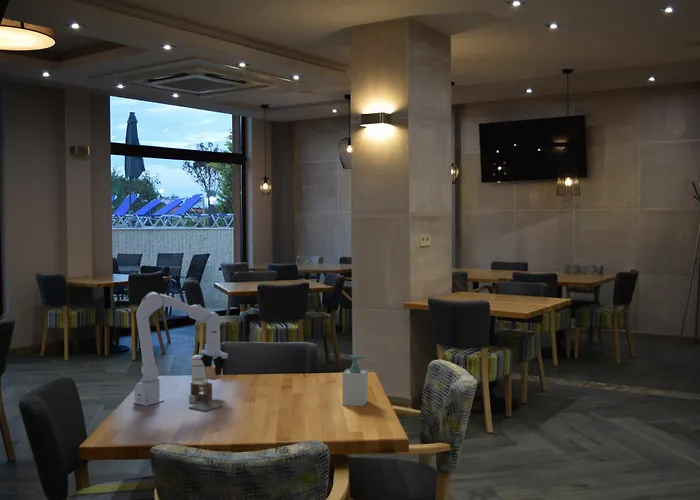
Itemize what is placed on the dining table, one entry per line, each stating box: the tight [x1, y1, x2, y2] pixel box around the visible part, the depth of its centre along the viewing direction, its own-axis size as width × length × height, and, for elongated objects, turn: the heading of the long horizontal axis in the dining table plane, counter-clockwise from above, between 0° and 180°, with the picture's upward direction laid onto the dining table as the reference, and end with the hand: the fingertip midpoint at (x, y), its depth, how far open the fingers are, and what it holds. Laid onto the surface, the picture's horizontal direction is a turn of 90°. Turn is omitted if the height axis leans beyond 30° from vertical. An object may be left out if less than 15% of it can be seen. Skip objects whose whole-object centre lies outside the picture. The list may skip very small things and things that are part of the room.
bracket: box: [190, 381, 213, 403], centre depth 294 cm, size 4×8×7 cm, turn 56°
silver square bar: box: [188, 391, 204, 404], centre depth 294 cm, size 10×3×3 cm, turn 150°
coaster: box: [188, 401, 223, 413], centre depth 282 cm, size 9×9×1 cm
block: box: [205, 364, 224, 381], centre depth 300 cm, size 5×5×5 cm
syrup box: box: [190, 354, 209, 391], centre depth 313 cm, size 6×6×14 cm
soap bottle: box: [341, 355, 369, 407], centre depth 287 cm, size 9×9×19 cm
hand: (213, 373), depth 299 cm, fingers closed on block, 5 cm apart
